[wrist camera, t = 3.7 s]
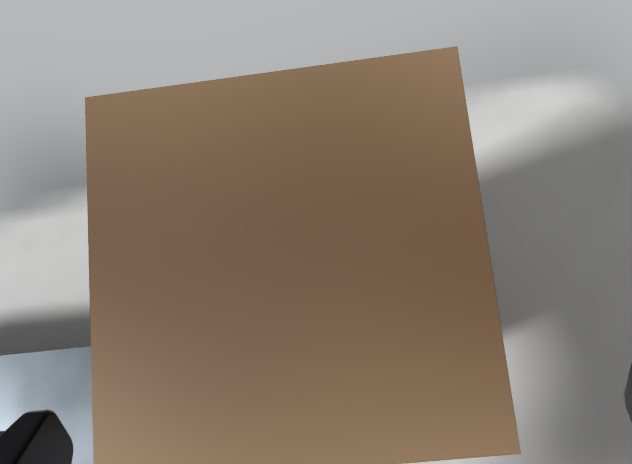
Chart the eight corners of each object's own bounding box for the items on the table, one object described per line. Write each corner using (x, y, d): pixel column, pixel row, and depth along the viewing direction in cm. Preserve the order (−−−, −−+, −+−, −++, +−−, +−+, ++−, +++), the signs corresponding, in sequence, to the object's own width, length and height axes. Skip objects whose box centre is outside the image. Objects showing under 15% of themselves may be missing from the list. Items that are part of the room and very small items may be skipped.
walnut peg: (417, 371, 18) (520, 453, 5) (289, 384, 18) (93, 488, 6) (401, 245, 19) (457, 46, 6) (278, 258, 19) (85, 97, 6)
